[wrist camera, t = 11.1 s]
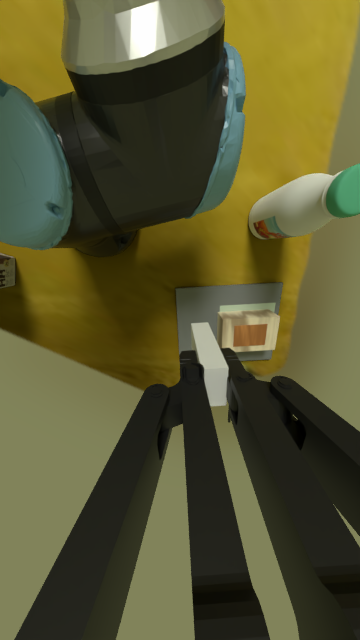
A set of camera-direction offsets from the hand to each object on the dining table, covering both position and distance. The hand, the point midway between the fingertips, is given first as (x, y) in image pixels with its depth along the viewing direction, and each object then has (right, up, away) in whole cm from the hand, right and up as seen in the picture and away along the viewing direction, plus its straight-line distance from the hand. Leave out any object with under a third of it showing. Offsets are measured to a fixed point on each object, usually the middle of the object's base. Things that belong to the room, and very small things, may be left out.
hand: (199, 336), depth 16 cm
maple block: (+7, -1, +26) cm, 27 cm away
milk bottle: (+16, +22, +21) cm, 34 cm away
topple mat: (+10, 0, +29) cm, 30 cm away
